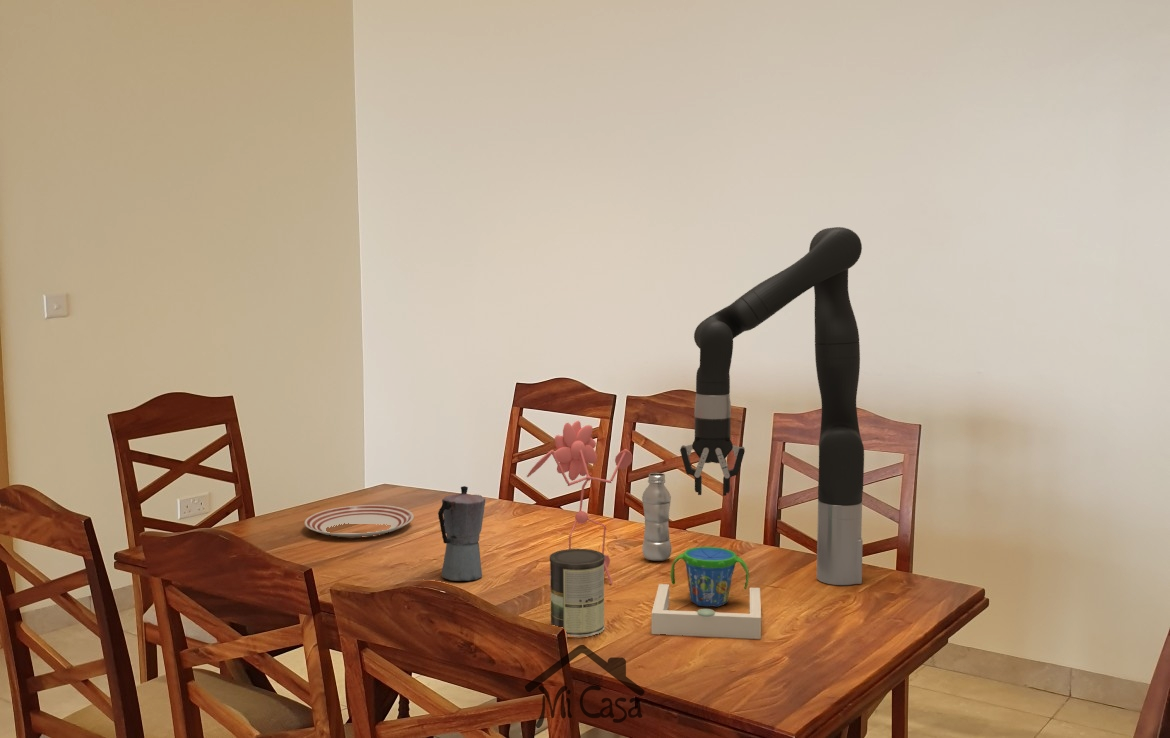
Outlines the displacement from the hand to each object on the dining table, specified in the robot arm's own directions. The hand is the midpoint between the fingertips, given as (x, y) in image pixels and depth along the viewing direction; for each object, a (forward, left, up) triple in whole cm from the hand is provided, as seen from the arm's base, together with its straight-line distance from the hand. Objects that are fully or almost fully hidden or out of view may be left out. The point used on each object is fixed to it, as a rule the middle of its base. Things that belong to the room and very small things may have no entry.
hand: (712, 494), depth 232 cm
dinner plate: (+91, -35, -20) cm, 100 cm away
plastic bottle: (+13, -16, -20) cm, 28 cm away
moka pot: (+54, +3, -20) cm, 57 cm away
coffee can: (+24, +32, -20) cm, 44 cm away
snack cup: (0, +13, -20) cm, 23 cm away
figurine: (+29, +3, -20) cm, 35 cm away
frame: (0, +24, -19) cm, 31 cm away
